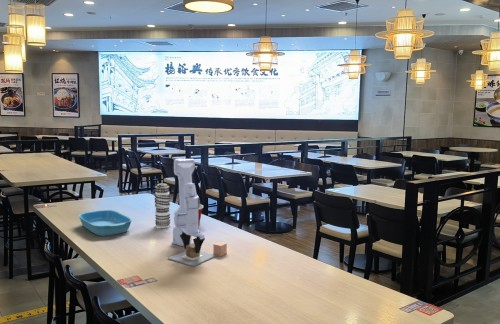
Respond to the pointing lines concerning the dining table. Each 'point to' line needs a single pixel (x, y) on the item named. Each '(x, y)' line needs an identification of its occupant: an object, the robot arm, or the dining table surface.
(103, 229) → the casserole dish
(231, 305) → the dining table surface
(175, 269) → the dining table surface
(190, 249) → the walnut block
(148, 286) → the dining table surface
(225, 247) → the terracotta block
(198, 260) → the board
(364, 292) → the dining table surface
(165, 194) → the white striped cylinder
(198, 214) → the plastic cup
